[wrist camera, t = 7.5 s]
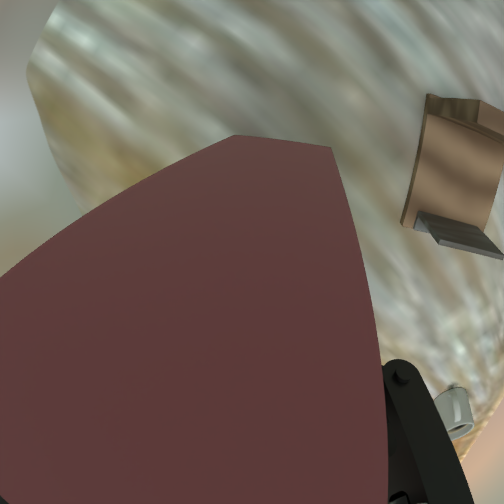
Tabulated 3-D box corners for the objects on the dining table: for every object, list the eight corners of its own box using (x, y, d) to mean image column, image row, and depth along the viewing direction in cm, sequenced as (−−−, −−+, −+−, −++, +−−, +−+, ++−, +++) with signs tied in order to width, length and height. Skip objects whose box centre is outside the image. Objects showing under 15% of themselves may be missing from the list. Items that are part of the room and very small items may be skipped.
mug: (451, 408, 51) (457, 441, 42) (423, 407, 52) (428, 442, 43) (477, 382, 45) (487, 417, 37) (450, 380, 46) (459, 418, 37)
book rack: (426, 93, 25) (480, 94, 14) (505, 127, 24) (567, 148, 12) (400, 222, 34) (431, 278, 23) (475, 240, 32) (517, 294, 21)
